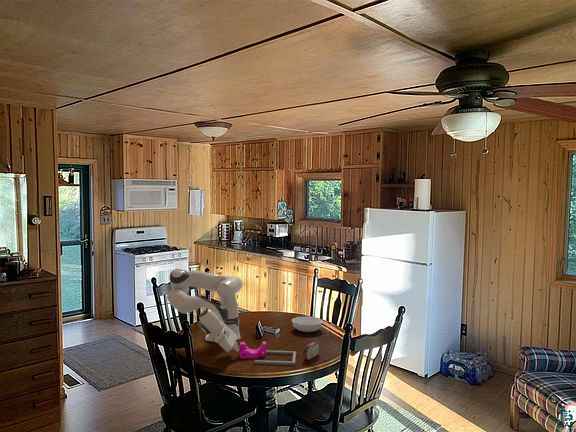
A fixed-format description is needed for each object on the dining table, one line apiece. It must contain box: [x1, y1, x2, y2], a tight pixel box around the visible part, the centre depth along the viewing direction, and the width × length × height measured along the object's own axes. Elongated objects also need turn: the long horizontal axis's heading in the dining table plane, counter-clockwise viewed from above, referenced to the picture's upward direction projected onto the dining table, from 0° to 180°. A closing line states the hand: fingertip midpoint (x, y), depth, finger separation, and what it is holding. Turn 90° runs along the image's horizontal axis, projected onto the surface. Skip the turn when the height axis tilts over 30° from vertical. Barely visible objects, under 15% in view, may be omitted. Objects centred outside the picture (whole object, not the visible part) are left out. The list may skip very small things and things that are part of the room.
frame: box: [254, 349, 297, 366], centre depth 248 cm, size 22×17×2 cm
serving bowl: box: [291, 316, 323, 333], centre depth 301 cm, size 21×21×7 cm
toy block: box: [239, 341, 267, 359], centre depth 251 cm, size 15×6×8 cm, turn 95°
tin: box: [302, 340, 320, 361], centre depth 251 cm, size 15×3×8 cm, turn 146°
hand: (238, 350), depth 249 cm, fingers closed
